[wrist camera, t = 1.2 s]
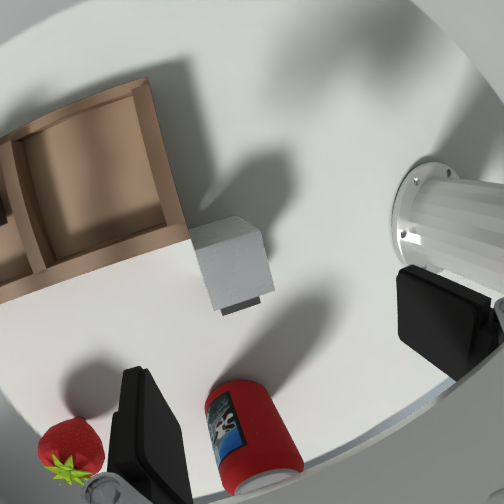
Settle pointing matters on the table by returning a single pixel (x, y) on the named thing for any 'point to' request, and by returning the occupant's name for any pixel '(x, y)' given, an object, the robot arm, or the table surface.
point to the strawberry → (72, 451)
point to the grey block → (232, 263)
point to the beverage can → (249, 438)
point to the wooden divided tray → (85, 190)
